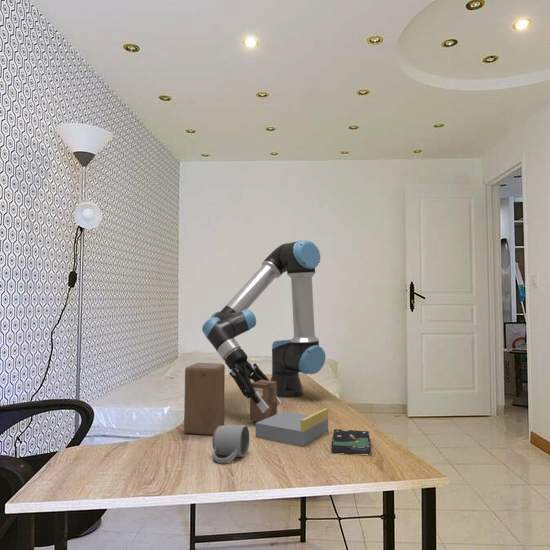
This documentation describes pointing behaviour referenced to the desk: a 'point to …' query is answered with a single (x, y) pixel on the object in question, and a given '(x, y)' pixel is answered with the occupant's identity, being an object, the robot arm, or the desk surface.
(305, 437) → the dock
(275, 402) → the cardboard box
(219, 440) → the ceramic mug
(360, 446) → the disk drive
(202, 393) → the wooden block
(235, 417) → the desk surface
